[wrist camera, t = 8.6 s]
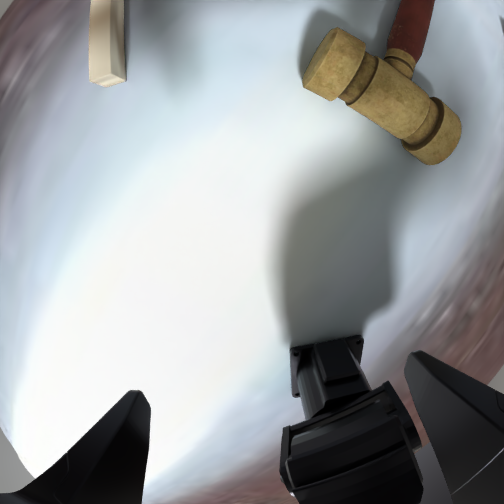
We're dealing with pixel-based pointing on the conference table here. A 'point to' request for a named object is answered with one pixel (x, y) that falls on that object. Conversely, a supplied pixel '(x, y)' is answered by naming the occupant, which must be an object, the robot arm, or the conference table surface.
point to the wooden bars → (106, 43)
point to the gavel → (388, 84)
